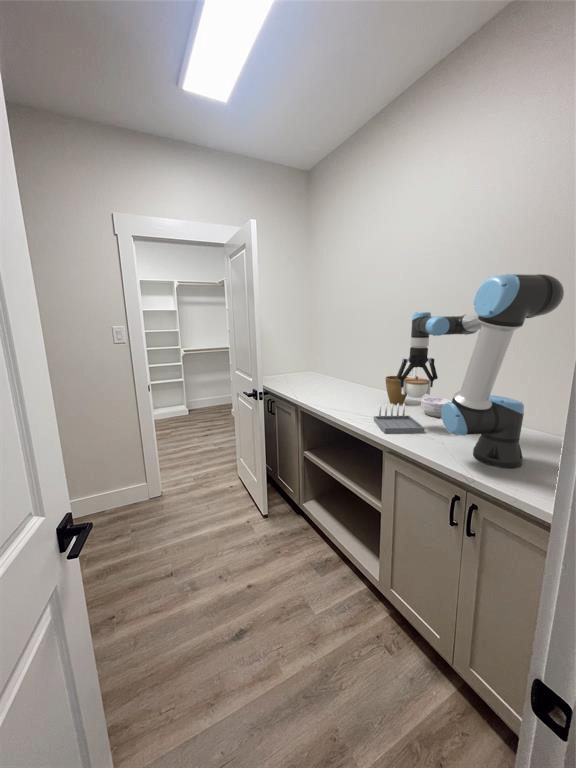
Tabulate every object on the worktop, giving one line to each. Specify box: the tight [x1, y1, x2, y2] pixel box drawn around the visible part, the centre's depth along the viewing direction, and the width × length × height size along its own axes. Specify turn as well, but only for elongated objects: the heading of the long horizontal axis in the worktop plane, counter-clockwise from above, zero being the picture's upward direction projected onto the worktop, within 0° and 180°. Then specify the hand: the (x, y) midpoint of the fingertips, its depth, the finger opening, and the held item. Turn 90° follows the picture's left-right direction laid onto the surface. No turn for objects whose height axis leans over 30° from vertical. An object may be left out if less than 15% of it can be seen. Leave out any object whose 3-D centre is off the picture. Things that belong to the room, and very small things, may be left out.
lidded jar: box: [405, 375, 429, 399], centre depth 144 cm, size 11×11×9 cm
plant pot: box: [384, 375, 410, 406], centre depth 187 cm, size 15×15×16 cm
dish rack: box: [373, 402, 425, 435], centre depth 148 cm, size 18×18×9 cm
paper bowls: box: [420, 397, 452, 418], centre depth 166 cm, size 15×15×8 cm
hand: (415, 394), depth 144 cm, fingers closed on lidded jar, 11 cm apart
